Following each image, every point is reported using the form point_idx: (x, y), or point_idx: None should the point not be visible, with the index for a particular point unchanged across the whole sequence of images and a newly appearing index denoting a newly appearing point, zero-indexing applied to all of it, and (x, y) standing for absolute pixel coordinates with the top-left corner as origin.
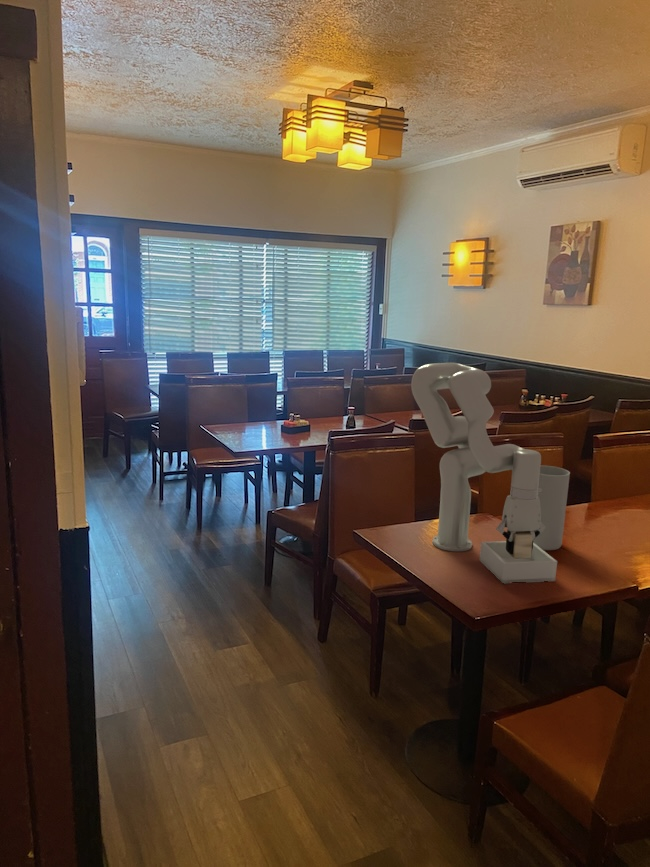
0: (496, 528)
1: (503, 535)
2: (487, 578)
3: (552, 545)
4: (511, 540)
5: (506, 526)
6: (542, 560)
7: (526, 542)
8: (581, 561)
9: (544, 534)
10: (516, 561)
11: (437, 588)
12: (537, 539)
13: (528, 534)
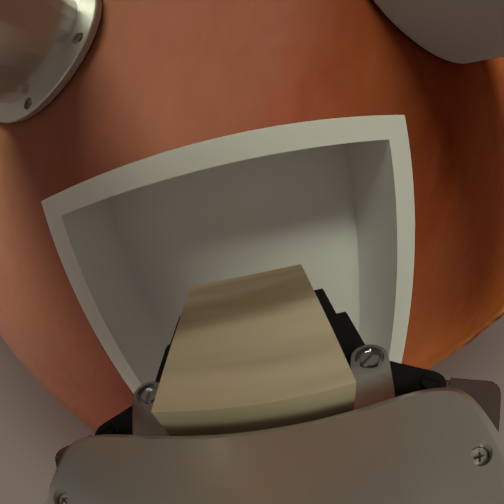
0: (57, 456)
1: (120, 420)
2: None
3: (467, 60)
4: None
5: (115, 442)
6: (375, 300)
7: None
8: (500, 165)
9: (473, 36)
10: (268, 208)
11: (38, 379)
12: (431, 24)
13: None
